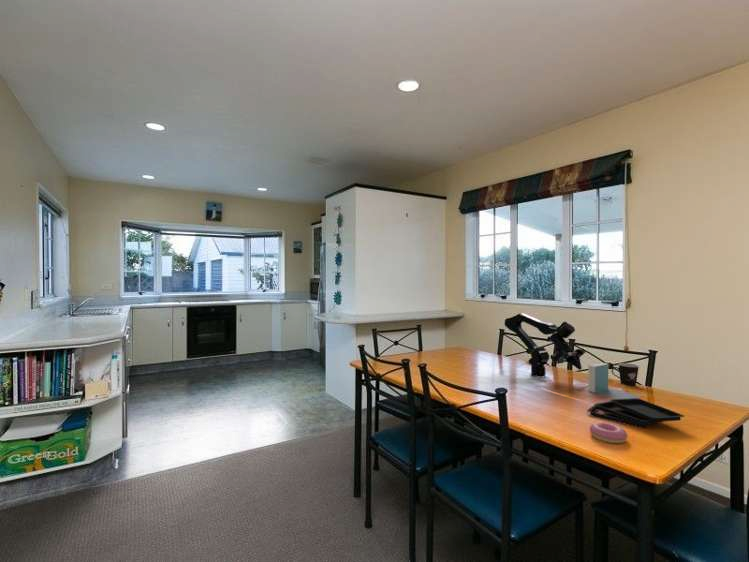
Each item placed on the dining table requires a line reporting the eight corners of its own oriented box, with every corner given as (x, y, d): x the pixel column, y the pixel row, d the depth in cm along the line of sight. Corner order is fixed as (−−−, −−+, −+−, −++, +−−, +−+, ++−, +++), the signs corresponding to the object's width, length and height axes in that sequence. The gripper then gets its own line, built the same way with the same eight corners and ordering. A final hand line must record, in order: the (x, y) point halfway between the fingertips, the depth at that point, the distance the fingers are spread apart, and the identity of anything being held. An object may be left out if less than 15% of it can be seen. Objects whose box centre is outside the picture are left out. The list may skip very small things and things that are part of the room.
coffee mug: (637, 384, 193) (638, 364, 193) (639, 388, 185) (639, 367, 185) (611, 380, 199) (611, 361, 199) (611, 384, 192) (611, 364, 191)
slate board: (582, 392, 177) (582, 390, 177) (602, 388, 185) (602, 386, 185) (623, 404, 162) (623, 401, 162) (643, 398, 169) (643, 396, 169)
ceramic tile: (588, 390, 178) (588, 365, 178) (601, 387, 183) (602, 362, 183) (594, 392, 175) (594, 366, 175) (608, 388, 180) (608, 364, 180)
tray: (585, 419, 145) (585, 405, 145) (592, 403, 163) (592, 391, 163) (686, 439, 127) (686, 424, 127) (681, 418, 146) (681, 405, 146)
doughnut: (587, 439, 126) (588, 427, 126) (591, 429, 135) (591, 417, 135) (627, 448, 120) (627, 435, 120) (627, 436, 129) (627, 424, 129)
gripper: (561, 351, 206) (581, 375, 196) (539, 354, 197) (558, 380, 187) (575, 338, 199) (596, 363, 189) (552, 341, 190) (573, 367, 180)
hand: (580, 369), depth 187 cm, fingers closed
